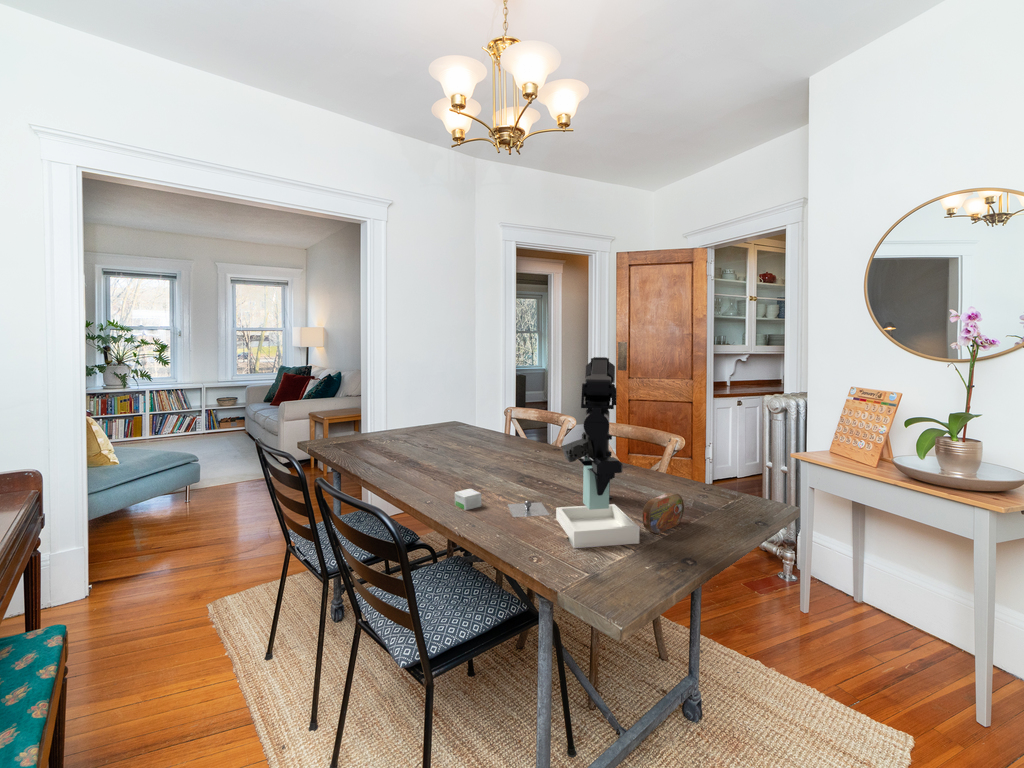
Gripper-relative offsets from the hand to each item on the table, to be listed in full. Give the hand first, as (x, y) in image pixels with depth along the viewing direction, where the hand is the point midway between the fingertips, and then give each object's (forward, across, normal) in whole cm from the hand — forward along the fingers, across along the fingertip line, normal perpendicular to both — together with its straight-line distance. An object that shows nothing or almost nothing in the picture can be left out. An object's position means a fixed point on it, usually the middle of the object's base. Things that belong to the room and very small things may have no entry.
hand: (596, 491), depth 121 cm
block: (+4, 0, 0) cm, 4 cm away
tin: (+11, 0, +18) cm, 21 cm away
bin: (+10, 0, 0) cm, 10 cm away
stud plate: (+10, -16, -14) cm, 24 cm away
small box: (+11, -22, -30) cm, 39 cm away
